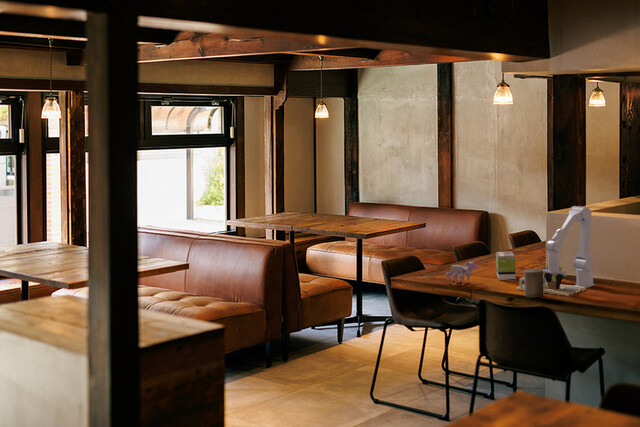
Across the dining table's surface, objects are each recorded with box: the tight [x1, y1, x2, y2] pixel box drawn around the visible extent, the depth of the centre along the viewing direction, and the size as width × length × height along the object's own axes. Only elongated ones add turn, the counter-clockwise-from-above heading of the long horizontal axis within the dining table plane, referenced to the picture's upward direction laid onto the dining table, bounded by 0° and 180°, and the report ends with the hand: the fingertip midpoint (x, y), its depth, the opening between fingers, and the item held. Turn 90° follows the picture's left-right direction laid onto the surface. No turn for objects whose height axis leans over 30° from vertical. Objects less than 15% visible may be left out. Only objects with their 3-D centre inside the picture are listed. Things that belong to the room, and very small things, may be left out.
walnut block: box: [548, 281, 560, 290], centre depth 427 cm, size 4×4×5 cm
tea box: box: [495, 251, 517, 281], centre depth 467 cm, size 15×10×15 cm
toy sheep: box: [445, 261, 479, 283], centre depth 454 cm, size 20×11×14 cm, turn 48°
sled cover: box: [518, 275, 547, 287], centre depth 435 cm, size 14×8×6 cm, turn 136°
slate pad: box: [560, 287, 578, 292], centre depth 422 cm, size 7×7×1 cm
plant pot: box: [544, 265, 563, 281], centre depth 452 cm, size 9×9×9 cm
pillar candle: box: [523, 268, 544, 299], centre depth 417 cm, size 10×10×15 cm
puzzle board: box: [516, 282, 586, 297], centre depth 431 cm, size 20×30×2 cm, turn 46°
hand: (553, 287), depth 427 cm, fingers closed on walnut block, 4 cm apart
